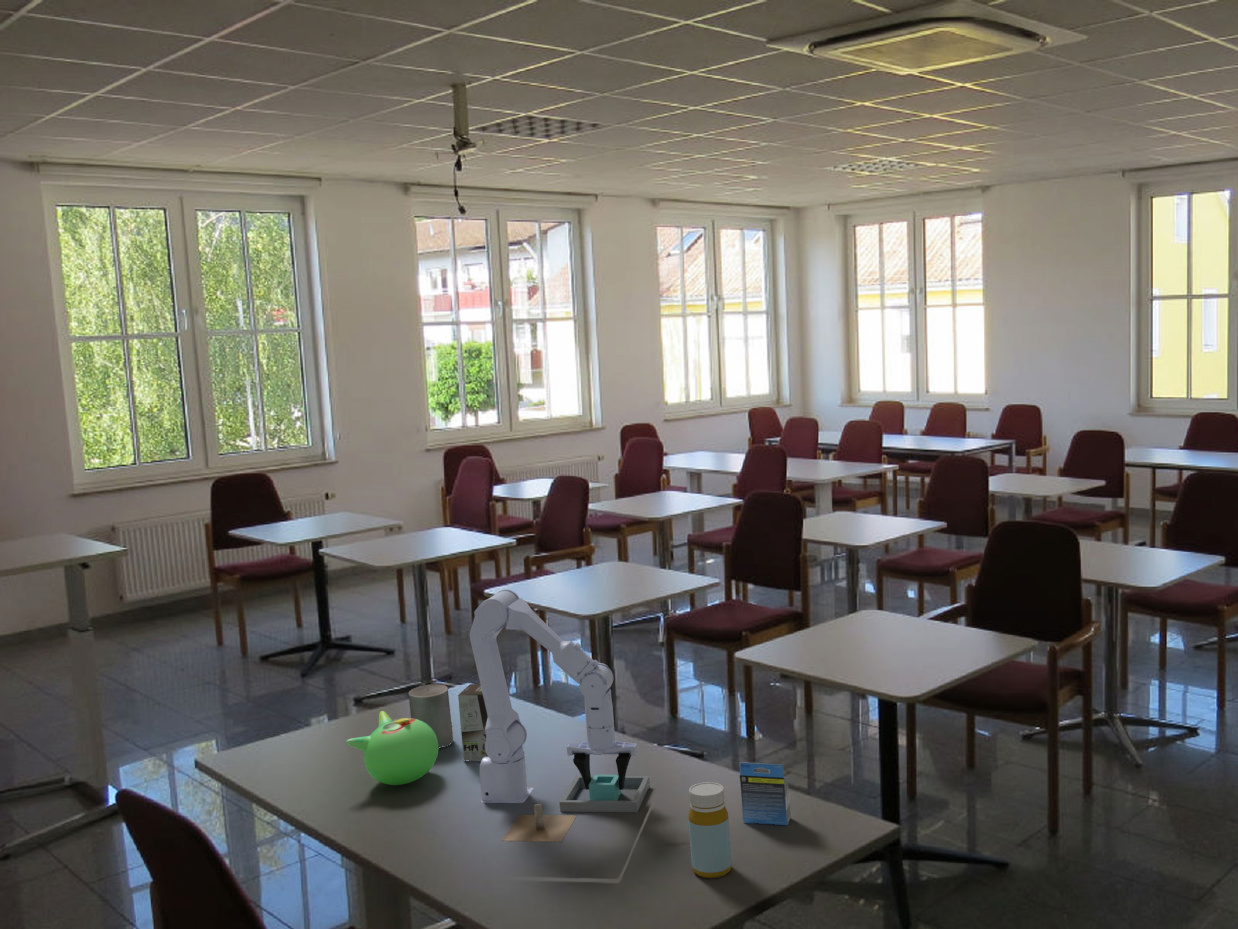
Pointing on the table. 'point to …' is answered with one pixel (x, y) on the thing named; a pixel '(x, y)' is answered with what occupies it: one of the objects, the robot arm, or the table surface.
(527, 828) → the stake board
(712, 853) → the bottle
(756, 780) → the label tape box
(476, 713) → the coffee box
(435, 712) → the pillar candle
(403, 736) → the toy bird
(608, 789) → the teal hollow block
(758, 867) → the table surface
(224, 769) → the table surface
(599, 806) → the tray
